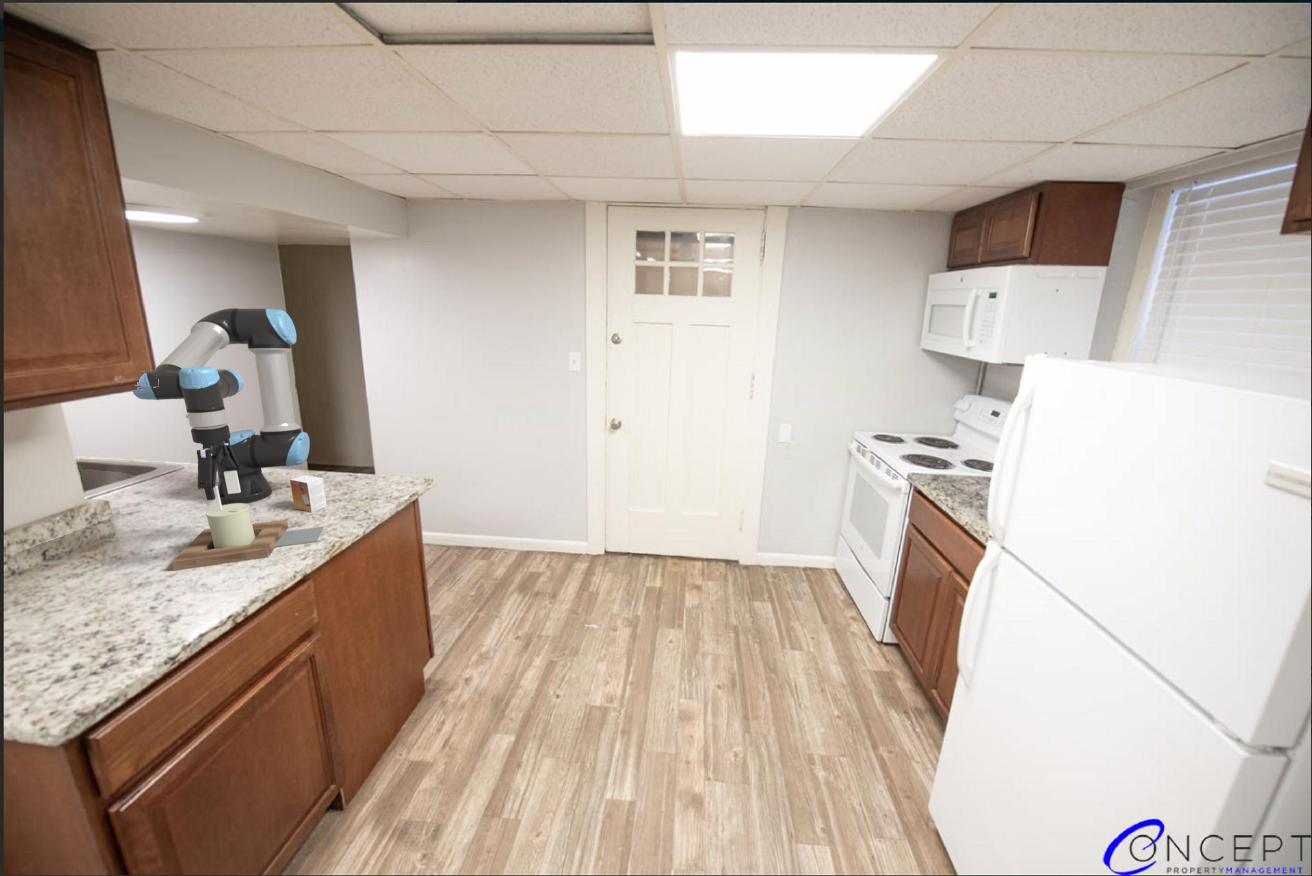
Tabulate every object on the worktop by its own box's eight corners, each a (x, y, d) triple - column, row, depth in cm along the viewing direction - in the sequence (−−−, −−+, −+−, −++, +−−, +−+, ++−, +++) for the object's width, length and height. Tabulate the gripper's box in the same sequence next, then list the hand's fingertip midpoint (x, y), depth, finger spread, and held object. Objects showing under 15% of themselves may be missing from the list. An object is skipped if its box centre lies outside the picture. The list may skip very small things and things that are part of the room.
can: (232, 556, 134) (223, 516, 131) (205, 552, 136) (196, 512, 133) (265, 541, 143) (257, 503, 140) (239, 537, 145) (230, 499, 142)
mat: (284, 532, 149) (284, 531, 149) (323, 527, 153) (323, 526, 152) (274, 547, 140) (274, 546, 140) (316, 541, 144) (316, 540, 144)
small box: (294, 508, 165) (288, 479, 163) (310, 502, 171) (305, 474, 168) (311, 512, 163) (306, 482, 160) (327, 506, 168) (322, 477, 165)
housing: (206, 537, 145) (204, 529, 144) (288, 527, 152) (286, 519, 152) (173, 570, 127) (171, 562, 126) (268, 557, 135) (266, 549, 134)
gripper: (211, 417, 140) (225, 487, 145) (167, 438, 118) (187, 520, 123) (243, 415, 143) (257, 484, 148) (207, 436, 121) (224, 516, 126)
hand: (225, 501), depth 136 cm, fingers open, 13 cm apart
